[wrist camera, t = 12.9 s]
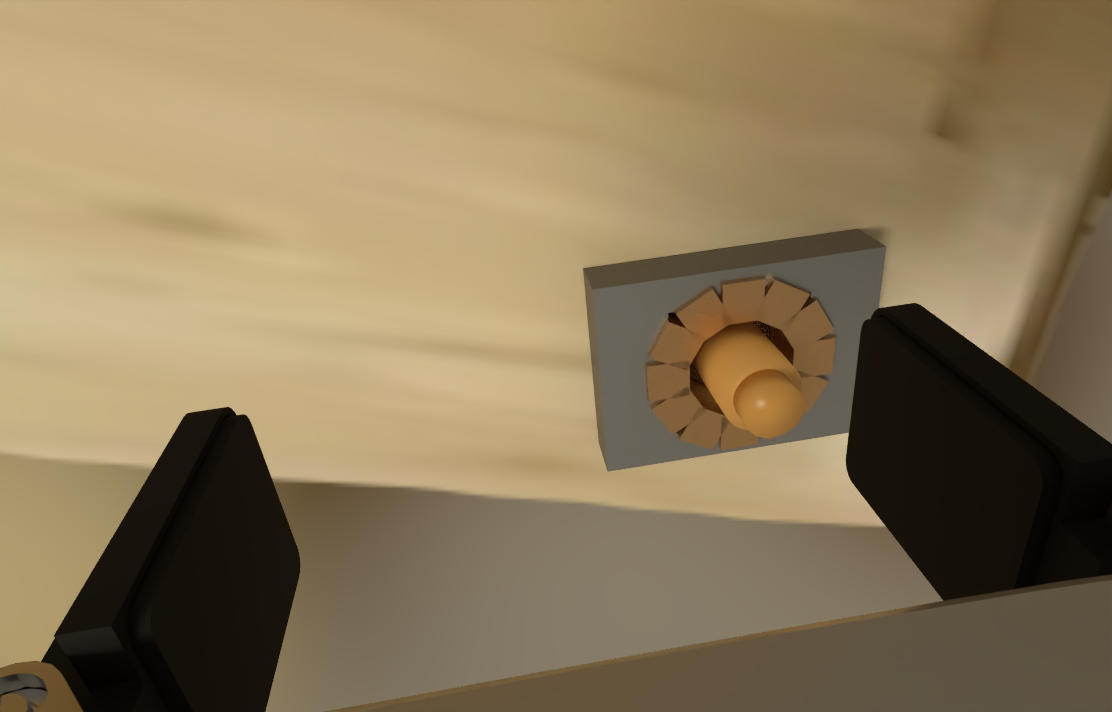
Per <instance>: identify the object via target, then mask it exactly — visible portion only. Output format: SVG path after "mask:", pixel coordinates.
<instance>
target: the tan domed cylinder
mask: <svg viewBox="0 0 1112 712" xmlns="http://www.w3.org/2000/svg"><path fill="white" fill-rule="evenodd" d="M692 365H693V366H694V368H695V370H696V371H697V373H698V374H699V376H700V377H701V379H702V380H703V382H704V384H705V385H706V387H707V388H708V390H709V391H710V393H711V394H712V396H713V397H714V399H715V401H716V402H717V404H718V405H719V407H720V408H721V410H722V411H723V413H724V415H725V416H726V418H727V419H728V420H729V421H730V423H732V424H733V425H734V426H736V427H738V428H741V429H744V430H749V431H750V432H751V433H752V434H754V435H756V436H758V437H762V438H773V437H778V436H781V435H783V434H785V433H787V432H788V431H790V430H791V429H793V428H794V427H795V426H796V425H797V424H798V422H799V421H800V419H801V418H802V415H803V413H804V409H805V401H804V398H803V396H802V380H801V377H800V374H799V373H798V371H797V370H796V369H795V367H794V366H793V365H792V364H791V363H790V362H789V361H788V360H787V359H786V357H785V356H784V355H783V354H782V353H781V352H780V351H779V350H778V349H777V347H776V346H775V345H774V344H773V343H772V342H771V341H770V340H769V339H768V337H767V336H766V335H765V334H764V333H763V332H762V331H761V330H760V329H759V327H758V326H757V325H756V324H755V323H754V322H753V321H750V322H744V323H737V324H731V325H728V326H726V327H725V328H723V329H722V330H720V331H719V332H717V333H716V334H714V335H713V336H711V337H710V338H708V339H707V340H705V341H704V342H703V344H702V345H701V347H700V349H699V351H698V352H697V354H696V356H695V357H694V359H693V361H692Z"/></svg>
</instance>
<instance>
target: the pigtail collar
mask: <svg viewBox="0 0 1112 712" xmlns="http://www.w3.org/2000/svg"><path fill="white" fill-rule="evenodd" d="M809 295H810V294H809V293H808V292H807V291H806V290H803V289H801V288H798V287H796V286H794V285H791V284H789V283H786V282H784V281H781V280H779V279H777V278H774V277H771V278H770V280H769V282H768V283H767V285H766V287H765V278H764V277H763V276H762V275H761V276H754V277H747V278H741V279H734V280H727V281H720V299H719V298H718V296H717V295H716V293H715V292H714V291H713V289H712V288H711V287H710V286H708V287H707V288H706V289H704V290H703V291H701V292H700V293H698V294H697V295H695V296H694V297H692V298H691V299H690V300H688V301H687V302H685V303H684V304H682V305H681V306H679V307H678V308H677V309H675V310H674V312H671V313H668V319H667V318H666V320H665V322H664V324H663V326H662V327H661V329H660V331H659V333H658V335H657V337H656V338H655V340H654V342H653V344H652V346H651V347H650V349H649V351H648V353H647V354H648V356H649V358H651V359H654V360H657V361H652V362H645V373H646V394H647V399H648V401H649V402H651V401H655V402H653V403H652V404H650V407H651V409H652V411H653V412H654V413H655V414H656V416H657V417H658V418H659V419H660V421H661V422H662V423H663V424H664V425H665V427H666V428H667V429H668V430H669V432H670V433H671V434H672V435H673V434H674V433H676V432H677V433H678V434H677V436H678V438H679V440H682V441H685V442H689V443H692V444H695V445H698V446H701V447H704V448H707V449H711V450H712V449H713V448H714V446H715V444H716V443H717V441H718V446H719V448H720V450H727V449H733V448H740V447H746V446H752V445H758V440H759V437H758V436H756V435H754V434H752V433H751V432H750V431H749V430H744V429H741V428H738V427H736V426H734V425H733V424H732V423H730V421H729V420H728V419H727V418H726V416H725V415H724V413H723V411H722V410H721V408H720V407H719V405H718V404H717V402H716V401H715V399H714V397H713V396H712V394H711V393H710V391H709V390H708V388H707V387H706V385H705V384H702V383H699V382H696V381H693V380H690V364H691V363H692V361H693V359H694V357H695V356H696V354H697V352H698V351H699V349H700V347H701V345H702V344H703V342H704V341H705V340H707V339H708V338H710V337H711V336H713V335H714V334H716V333H717V332H719V331H720V330H722V329H723V328H725V327H726V326H728V325H731V324H737V323H744V322H750V321H757V320H758V321H760V322H763V323H765V324H768V325H770V335H769V340H770V341H771V342H772V343H773V344H774V345H775V346H776V347H777V349H778V350H779V351H780V352H781V353H782V354H783V355H784V356H785V357H786V359H787V360H788V361H789V362H790V363H791V364H792V365H793V366H794V367H795V369H796V370H797V371H798V373H799V374H800V377H801V380H802V396H803V398H804V401H805V409H804V412H805V413H808V412H809V411H810V409H811V408H812V406H813V405H814V403H815V402H816V400H817V399H818V397H819V396H820V394H821V393H822V391H823V390H824V389H825V387H826V386H827V384H828V383H829V381H828V380H827V379H826V378H825V377H823V376H820V375H824V374H830V373H832V372H833V362H834V352H835V341H836V338H835V337H834V336H833V335H832V334H828V333H830V332H831V331H833V330H834V328H833V327H832V325H831V323H830V322H829V320H828V318H827V317H826V315H825V313H824V311H823V310H822V308H821V306H820V305H819V303H818V301H817V300H816V299H815V298H814V297H810V296H809ZM827 334H828V335H827ZM770 439H771V438H766V440H767V441H768V440H770Z"/></svg>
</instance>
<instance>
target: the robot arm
mask: <svg viewBox="0 0 1112 712" xmlns="http://www.w3.org/2000/svg"><path fill="white" fill-rule="evenodd" d="M846 467H847V472H848V475H849V477H850V480H851V481H852V483H853V484H854V486H855V487H856V488H857V489H858V491H859V492H860V493H861V495H862V496H863V497H864V498H865V500H866V501H867V502H868V504H869V505H870V506H871V508H872V509H873V510H874V511H875V513H876V514H877V515H878V517H879V518H880V519H881V520H882V522H883V523H884V524H885V526H886V527H887V528H888V529H889V531H890V532H891V533H892V535H893V536H894V537H895V539H896V540H897V541H898V542H899V544H900V545H901V546H902V547H903V549H904V550H905V551H906V553H907V554H908V555H909V557H910V558H911V559H912V561H913V562H914V563H915V564H916V566H917V567H918V568H919V570H920V571H921V572H922V573H923V575H924V576H925V577H926V579H927V580H928V581H929V582H930V584H931V585H932V586H933V588H934V589H935V590H936V592H937V593H938V594H939V595H940V597H941V598H942V599H943V601H940V602H934V603H929V604H923V605H917V606H912V607H906V608H900V609H894V610H888V611H882V612H876V613H870V614H865V615H859V616H853V617H848V618H841V619H836V620H830V621H824V622H818V623H812V624H807V625H801V626H795V627H789V628H783V629H778V630H772V631H767V632H761V633H755V634H750V635H744V636H738V637H733V638H727V639H721V640H716V641H711V642H705V643H699V644H693V645H688V646H682V647H677V648H671V649H665V650H659V651H654V652H649V653H643V654H637V655H632V656H627V657H621V658H615V659H609V660H604V661H599V662H593V663H587V664H581V665H576V666H570V667H565V668H559V669H553V670H548V671H542V672H537V673H532V674H527V675H521V676H515V677H510V678H505V679H499V680H494V681H488V682H483V683H477V684H472V685H466V686H461V687H456V688H450V689H445V690H439V691H434V692H428V693H423V694H418V695H413V696H407V697H401V698H396V699H391V700H385V701H380V702H375V703H369V704H363V705H358V706H353V707H347V708H342V709H336V710H331V711H326V712H1112V444H1111V443H1110V442H1108V441H1107V440H1106V439H1104V438H1103V437H1101V436H1100V435H1098V434H1097V433H1096V432H1094V431H1093V430H1092V429H1090V428H1089V427H1088V426H1086V425H1085V424H1083V423H1082V422H1080V421H1079V420H1078V419H1077V418H1075V417H1074V416H1072V415H1071V414H1070V413H1068V412H1067V411H1066V410H1064V409H1063V408H1061V407H1060V406H1058V405H1057V404H1056V403H1054V402H1053V401H1052V400H1050V399H1049V398H1048V397H1046V396H1045V395H1044V394H1042V393H1041V392H1039V391H1038V390H1037V389H1035V388H1034V387H1033V386H1031V385H1030V384H1028V383H1027V382H1026V381H1024V380H1023V379H1021V378H1020V377H1019V376H1017V375H1016V374H1015V373H1013V372H1012V371H1010V370H1009V369H1008V368H1006V367H1005V366H1004V365H1002V364H1001V363H999V362H998V361H997V360H995V359H994V358H993V357H991V356H990V355H988V354H987V353H986V352H984V351H983V350H982V349H980V348H979V347H977V346H976V345H975V344H973V343H972V342H970V341H969V340H968V339H966V338H965V337H964V336H962V335H961V334H959V333H958V332H957V331H955V330H954V329H953V328H951V327H950V326H948V325H947V324H946V323H944V322H943V321H942V320H940V319H939V318H937V317H936V316H935V315H933V314H932V313H931V312H929V311H928V310H926V309H925V308H924V307H922V306H921V305H919V304H917V303H911V304H904V305H898V306H891V307H885V308H878V309H877V310H875V311H874V313H873V314H872V316H871V319H867V320H865V321H864V323H863V324H862V328H861V334H860V342H859V351H858V359H857V368H856V377H855V385H854V394H853V402H852V411H851V420H850V428H849V437H848V445H847V454H846ZM299 574H300V557H299V552H298V548H297V545H296V543H295V540H294V538H293V535H292V532H291V529H290V527H289V524H288V521H287V519H286V516H285V513H284V510H283V508H282V505H281V502H280V500H279V497H278V494H277V492H276V489H275V486H274V483H273V481H272V478H271V475H270V473H269V470H268V467H267V465H266V462H265V459H264V457H263V454H262V451H261V448H260V446H259V443H258V440H257V438H256V435H255V432H254V430H253V427H252V424H251V422H250V420H249V418H248V417H247V416H246V415H244V414H243V415H236V413H235V412H234V411H233V410H232V409H231V408H229V407H225V408H218V409H211V410H205V411H198V412H192V413H187V414H186V415H185V416H184V417H183V419H182V421H181V423H180V424H179V426H178V428H177V429H176V431H175V433H174V434H173V436H172V438H171V439H170V441H169V443H168V444H167V446H166V448H165V449H164V451H163V453H162V455H161V456H160V458H159V460H158V461H157V463H156V465H155V466H154V468H153V470H152V472H151V473H150V475H149V477H148V478H147V480H146V482H145V484H144V485H143V487H142V488H141V490H140V492H139V494H138V495H137V497H136V498H135V500H134V502H133V503H132V505H131V507H130V508H129V510H128V512H127V513H126V515H125V517H124V519H123V520H122V522H121V524H120V525H119V527H118V529H117V530H116V532H115V534H114V535H113V537H112V539H111V540H110V542H109V544H108V546H107V547H106V549H105V551H104V553H103V554H102V556H101V557H100V559H99V561H98V562H97V564H96V566H95V568H94V569H93V571H92V572H91V574H90V576H89V578H88V579H87V581H86V583H85V584H84V586H83V588H82V589H81V591H80V593H79V594H78V596H77V598H76V600H75V601H74V603H73V605H72V606H71V608H70V610H69V611H68V613H67V615H66V616H65V618H64V620H63V621H62V623H61V625H60V627H59V628H58V630H57V631H56V633H55V635H54V637H55V639H54V641H53V642H52V644H51V646H50V647H49V649H48V651H47V652H46V654H45V656H44V658H43V659H42V661H41V662H39V661H30V662H21V663H15V664H11V665H8V666H5V667H2V668H0V712H265V711H266V707H267V703H268V699H269V695H270V691H271V686H272V682H273V679H274V675H275V671H276V667H277V663H278V659H279V655H280V651H281V647H282V643H283V639H284V635H285V631H286V627H287V623H288V619H289V615H290V611H291V607H292V602H293V598H294V595H295V591H296V587H297V583H298V579H299Z"/></svg>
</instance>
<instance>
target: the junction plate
mask: <svg viewBox="0 0 1112 712" xmlns="http://www.w3.org/2000/svg"><path fill="white" fill-rule="evenodd" d="M885 251H886V246H884V245H882V244H881V243H879V242H878V241H876V240H875V239H873V238H872V237H870V236H869V235H867V234H865V233H864V232H862V231H861V230H859V229H855V230H848V231H841V232H834V233H827V234H820V235H814V236H807V237H800V238H793V239H786V240H779V241H772V242H765V243H758V244H751V245H744V246H737V247H730V248H723V249H716V250H710V251H703V252H696V253H689V254H682V255H675V256H668V257H661V258H654V259H647V260H640V261H633V262H626V263H619V264H612V265H605V266H599V267H592V268H585V269H583V271H584V282H585V293H586V305H587V316H588V327H589V338H590V349H591V360H592V372H593V383H594V394H595V405H596V416H597V427H598V439H599V445H600V448H601V451H602V455H603V458H604V461H605V464H606V468H607V471H614V470H620V469H626V468H633V467H639V466H645V465H651V464H657V463H663V462H670V461H676V460H682V459H688V458H694V457H700V456H707V455H713V454H719V453H725V452H731V451H738V450H744V449H750V448H756V447H762V446H768V445H775V444H781V443H787V442H793V441H799V440H805V439H812V438H818V437H824V436H830V435H836V434H842V433H849V428H850V420H851V411H852V402H853V394H854V385H855V377H856V368H857V359H858V351H859V342H860V334H861V328H862V324H863V323H864V321H865V320H867V319H871V316H872V314H873V313H874V311H875V310H877V309H878V306H879V298H880V290H881V283H882V275H883V267H884V259H885ZM761 275H762V276H763V277H764V278H765V287H766V285H767V283H768V282H769V280H770V278H771V277H774V278H777V279H779V280H781V281H784V282H786V283H789V284H791V285H794V286H796V287H798V288H801V289H803V290H806V291H807V292H808V293H809V294H810V295H809V296H810V297H814V298H815V299H816V300H817V301H818V303H819V305H820V306H821V308H822V310H823V311H824V313H825V315H826V317H827V318H828V320H829V322H830V323H831V325H832V327H833V328H834V330H833V331H831V332H830V333H828V334H832V335H833V336H834V337H835V338H836V341H835V352H834V362H833V372H832V373H830V374H824V375H820V376H823V377H825V378H826V379H827V380H828V381H829V383H828V384H827V386H826V387H825V389H824V390H823V391H822V393H821V394H820V396H819V397H818V399H817V400H816V402H815V403H814V405H813V406H812V408H811V409H810V411H809V412H808V413H805V412H804V413H803V415H802V418H801V419H800V421H799V422H798V424H797V425H796V426H795V427H794V428H793V429H791V430H790V431H788V432H787V433H785V434H783V435H781V436H778V437H773V438H771V439H770V440H768V441H767V440H766V438H762V437H759V440H758V445H752V446H746V447H740V448H733V449H727V450H720V448H719V446H718V441H717V443H716V444H715V446H714V448H713V449H712V450H711V449H707V448H704V447H701V446H698V445H695V444H692V443H689V442H685V441H682V440H679V438H678V436H677V434H678V433H677V432H676V433H674V434H673V435H672V434H671V433H670V432H669V430H668V429H667V428H666V427H665V425H664V424H663V423H662V422H661V421H660V419H659V418H658V417H657V416H656V414H655V413H654V412H653V411H652V409H651V407H650V404H652V403H653V402H655V401H651V402H649V401H648V399H647V394H646V373H645V362H652V361H657V360H654V359H651V358H649V356H648V354H647V353H648V351H649V349H650V347H651V346H652V344H653V342H654V340H655V338H656V337H657V335H658V333H659V331H660V329H661V327H662V326H663V324H664V322H665V320H666V318H667V319H668V313H671V312H674V310H675V309H677V308H678V307H679V306H681V305H682V304H684V303H685V302H687V301H688V300H690V299H691V298H692V297H694V296H695V295H697V294H698V293H700V292H701V291H703V290H704V289H706V288H707V287H708V286H710V287H711V288H712V289H713V291H714V292H715V293H716V295H717V296H718V298H719V299H720V281H727V280H734V279H741V278H747V277H754V276H761ZM828 334H827V335H828Z"/></svg>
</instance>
